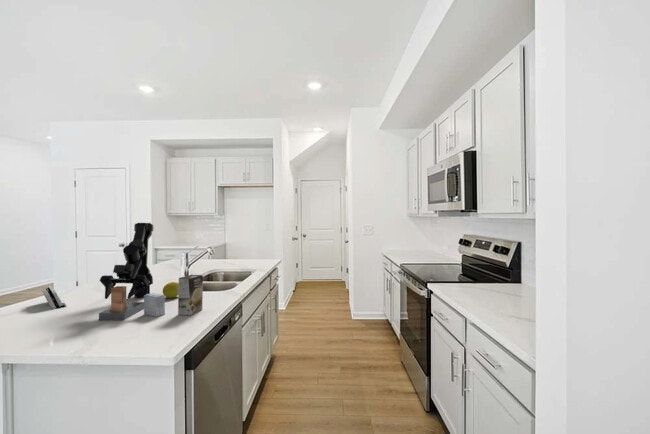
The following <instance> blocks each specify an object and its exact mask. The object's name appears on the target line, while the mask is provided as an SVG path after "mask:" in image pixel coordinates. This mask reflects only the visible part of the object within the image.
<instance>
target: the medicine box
mask: <svg viewBox="0 0 650 434" xmlns="http://www.w3.org/2000/svg"><path fill="white" fill-rule="evenodd" d="M165 298H166V297H165V295H163V293H155V292H151V293H150V294H146V295H144V297H143V302H144V309H143V315H146V316H150V317H155V318H157V317H160V316H165V314H166V310H165V309H166V307H165V306H166V303H165V300H166V299H165Z"/></svg>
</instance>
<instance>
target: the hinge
mask: <svg viewBox="0 0 650 434" xmlns="http://www.w3.org/2000/svg"><path fill="white" fill-rule="evenodd" d="M41 291H42V293H43V296H44V297H45V300H46V302H47V303H48V305H49V306H50V307H51V309H52V310H55V309H57V307H62V306H64V307H65V308H67V304H66V303H65V302H64V300H62V298H61V297H60V296H59V295H58V294H57V292H56V290H55V289H54V287H53V286H52V285H50V286H48V287H46V288H43V289H42V290H41Z"/></svg>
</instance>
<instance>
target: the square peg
mask: <svg viewBox="0 0 650 434" xmlns="http://www.w3.org/2000/svg"><path fill="white" fill-rule="evenodd" d="M126 302H127V286H126V285H117V286H116V285H115V286H114V288H111V294H110V308H111V311H123V310H125V309H126Z"/></svg>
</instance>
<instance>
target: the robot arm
mask: <svg viewBox="0 0 650 434" xmlns="http://www.w3.org/2000/svg"><path fill="white" fill-rule="evenodd" d="M133 226H134V229H133V231H134V235H133V239H132V241H131V242H129V243H128V245H126V246H124V248H123V249H122V251H123V256H124V259H125V261H126V262H125V264H115V265H114V267H113V269H112V270H113V271H112V273H113V274H114V273H115V274H116V277H117V278H115V277H114V276H113V275H101V276H100V278H99V282H100V283H101V284H102V285H103V287H104V299H105V300H107V299H108V298H109V297H111V288H114V287H116V284H132V286H131V288H130V289H129V292H128V295H127V296H126V299H127V300H129V299H131V298H132V297H133V296H134V297H135V298H136V299H141V298H144V295H146V294H150V291H151V290H150V289H151V285H153V284H154V281H153V280H154V279H153V275H152V273H151V270H150V269H149V267H148V255H149V239H150V238H151V237H152V235H153V232H154V224H153V223H151V222H137V223H134V225H133Z"/></svg>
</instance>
